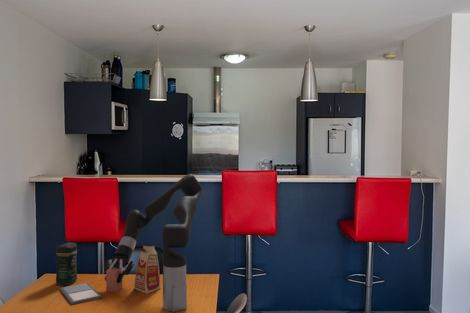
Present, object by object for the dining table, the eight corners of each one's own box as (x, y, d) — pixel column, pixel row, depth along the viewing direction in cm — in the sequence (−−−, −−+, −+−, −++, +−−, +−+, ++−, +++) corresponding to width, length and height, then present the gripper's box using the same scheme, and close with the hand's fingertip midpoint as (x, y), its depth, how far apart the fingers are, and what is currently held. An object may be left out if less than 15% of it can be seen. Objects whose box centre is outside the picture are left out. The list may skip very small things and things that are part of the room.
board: (101, 298, 170) (101, 295, 170) (71, 304, 163) (71, 301, 163) (87, 285, 186) (87, 282, 186) (60, 290, 179) (60, 287, 179)
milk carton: (146, 293, 176) (146, 248, 176) (133, 289, 182) (133, 245, 181) (162, 287, 183) (162, 244, 183) (148, 283, 189) (148, 241, 189)
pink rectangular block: (122, 288, 182) (122, 268, 182) (116, 292, 178) (116, 271, 177) (112, 287, 184) (112, 267, 183) (106, 291, 179) (106, 271, 179)
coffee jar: (69, 286, 184) (69, 246, 184) (53, 285, 185) (53, 245, 185) (80, 279, 194) (79, 241, 194) (64, 278, 195) (64, 240, 194)
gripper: (142, 253, 191) (129, 287, 180) (115, 251, 194) (101, 284, 183) (136, 245, 186) (123, 279, 174) (109, 243, 189) (94, 276, 178)
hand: (112, 281), depth 179 cm, fingers closed on pink rectangular block, 5 cm apart
